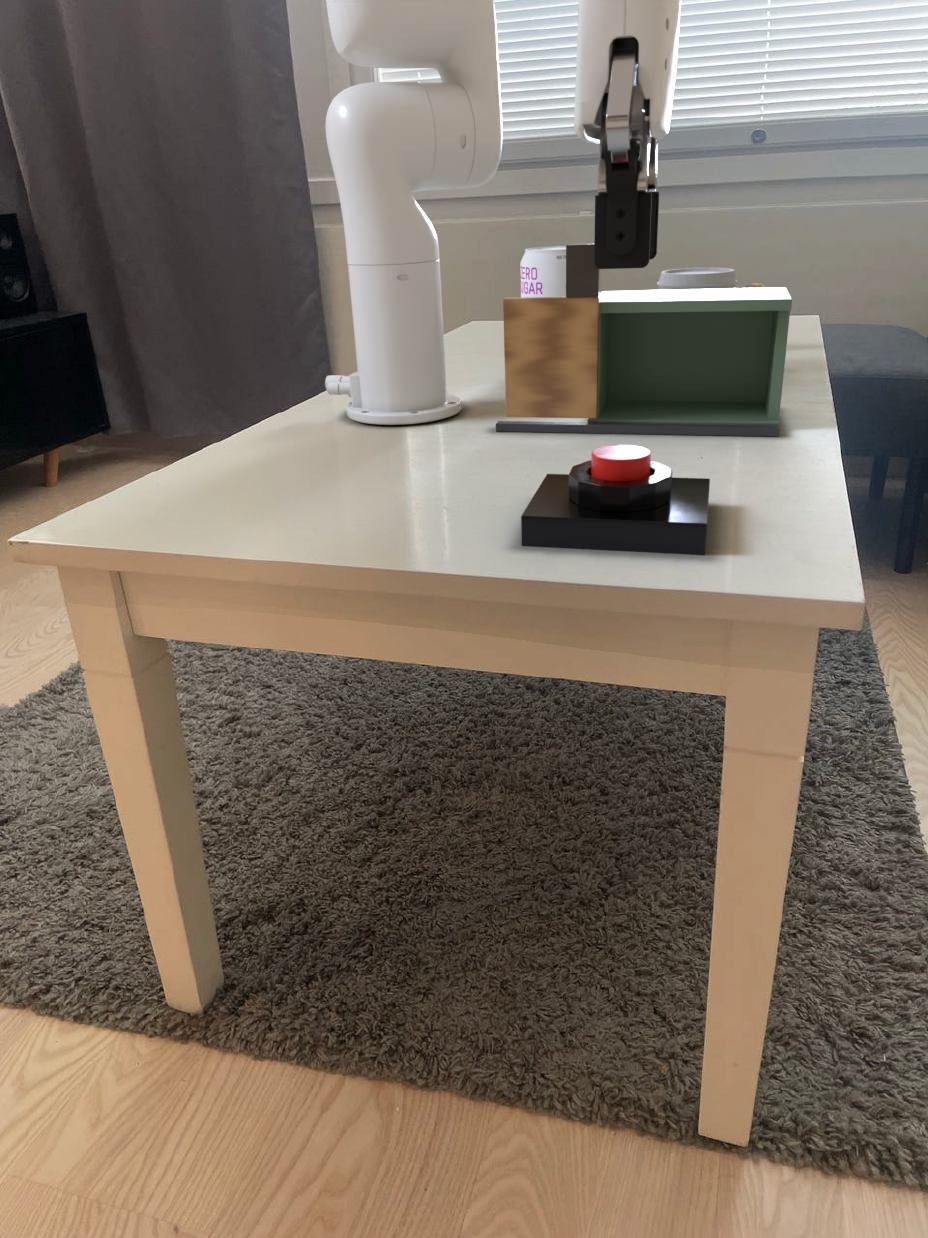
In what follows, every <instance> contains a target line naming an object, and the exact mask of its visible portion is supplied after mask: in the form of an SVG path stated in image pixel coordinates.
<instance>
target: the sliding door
mask: <svg viewBox="0 0 928 1238" xmlns="http://www.w3.org/2000/svg"><path fill="white" fill-rule="evenodd" d="M565 246H566V297H521V296H520V297H504V298H502V309H503V315H502V316H503V348H504V349H503V351H504V352H503V354H504V355H503V356H504V391H505V393H504V394H505V417H506V418H538V419H539V418H540V419H541V418H544V419H545V418H547V419H589V418H597V410H598V355H599V300H600V297H599V296H600V293H601V269H598V268H597V267H596V266H595V264H594V243H571V244H570V243H568V244H566V245H565Z"/></svg>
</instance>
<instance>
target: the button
mask: <svg viewBox="0 0 928 1238" xmlns="http://www.w3.org/2000/svg"><path fill="white" fill-rule="evenodd" d="M590 457H591V459H590V460H591V477H593V478H598V479H603V480H607V481H631V480H639V479H645V478H647V477H650V463H651V461H652V459H651V458H652V452H651V450H650V449H649V448H648V447H647V448H646V447H644V446H640V445H635V444H634V445H633V444H608V445H602V446H599V447H596V448H594V449H593V450H591V454H590Z"/></svg>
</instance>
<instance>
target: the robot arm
mask: <svg viewBox="0 0 928 1238" xmlns="http://www.w3.org/2000/svg"><path fill="white" fill-rule="evenodd" d="M325 5H326V11H327V18H328V26H329V31H330V35H331V40H332V43H333V45H334V48H335V50H336V52H337V54H338V55H339V56H340V57H341V59H342V60H343V61H346V63H349V64H351V65H355V66H358V67H362V68H363V67H364V68H373V69H432V70H433V69H434V70H436V71H437V72H438V74H439V77H440V80H441V82H418V81H373V82H371V81H370V82H363V83H359V84H358V83H357V84H355V85H351V86H349V87H347V88H345V89H343V90H341V91H340V92H339V93H337V94H336V96H334V97H333V98H332V100H331V102H330V104H329V105H328V108H327V111H326V116H325V122H324V123H325V125H324V126H325V127H324V129H325V140H326V146H327V150H328V151H327V152H328V156H329V160H330V163H331V168H332V171H333V177H334V180H335V184H336V185H335V186H336V189H337V194H338V198H339V199H338V200H339V203H340V204H339V205H340V210H341V216H342V217H341V218H342V224H343V231H344V240H345V241H344V242H345V251H346V252H345V253H346V263H347V271H348V281H349V283H348V284H349V292H350V303H351V315H352V325H353V336H354V346H355V347H354V348H355V358H356V369H357V370H356V371H355V372H352V373H351V374H349V375H341V374H340V375H337V374H335V375H332V374H331V375H330V374H329V375H326V377H325V382H324V387H325V390H326V393H328V395H329V396H342V395H347V396H348V397H349V398H351V401H350V402H349V403H348V404H347V405H346V414H347V415H346V416H347V417H348V418H349V419H350V420H352V421H355V422H357V423H362V424H369V425H384V426H398V425H399V426H400V425H402V426H403V425H415V424H423V423H429V422H435V421H439V420H445V419H448V418H450V417H451V418H452V417H453V416H455V415H457V414H458V413H460V412H461V410H462V399H461V398H460V397H459V396H458V395H455V394H452V393H448V392H447V375H446V357H445V356H446V354H445V353H446V352H445V336H444V316H443V298H442V297H443V295H442V277H441V260H440V245H439V238H438V235H437V231H436V230H435V227H434V225H433V223H432V222H431V220H430V219H429V217H428V216H427V214H426V213H425V211H424V210H423V209H422V208H421V206H420V204H419V203H418V202H417V200H416V199H415V197H414V195H413V193H419V192H423V191H442V190H443V191H444V190H462V189H463V190H464V189H473V188H477V187H481V186H483V185H485V184H488V183H489V181H491V180H492V179H493V177H494V176H495V175H496V173H497V170H498V169H499V165H500V161H501V158H502V149H503V114H502V113H503V111H502V97H501V81H500V80H501V78H500V64H499V63H500V62H499V46H498V29H497V16H496V7H495V0H325ZM681 5H682V0H578V7H577V9H578V10H577V32H576V33H577V36H576V37H577V38H576V41H577V42H576V60H575V61H576V63H575V65H576V67H575V88H574V89H575V91H574V111H573V112H574V113H573V127H574V133H575V134H576V135H577V137H578V138H580V139H581V141H584V142H587V143H590V144H595V145H596V144H597V145H598V144H599V147H598V149H599V150H598V167H597V171H598V172H597V195H594V197H595V198H594V242H593V244H594V264H595V266H596V267H597V268H598V269H600V270H615V269H617V270H618V269H619V270H620V269H621V270H622V269H644V268H646V267H647V266H648V265H649V263H650V260H653V259H654V258H655V257H656V256H657V254H658V237H659V236H658V235H659V210H660V209H659V208H660V191H657V186H658V153H659V149H658V147H659V146H658V145H659V141H661V140H662V139H663V138H664V137H666V136H667V135H668V134H669V131H670V124H671V117H672V110H673V102H674V101H673V100H674V93H675V84H676V74H677V63H678V52H679V51H678V50H679V40H680V39H679V37H680V22H681V21H680V20H681V8H682V7H681Z"/></svg>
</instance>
